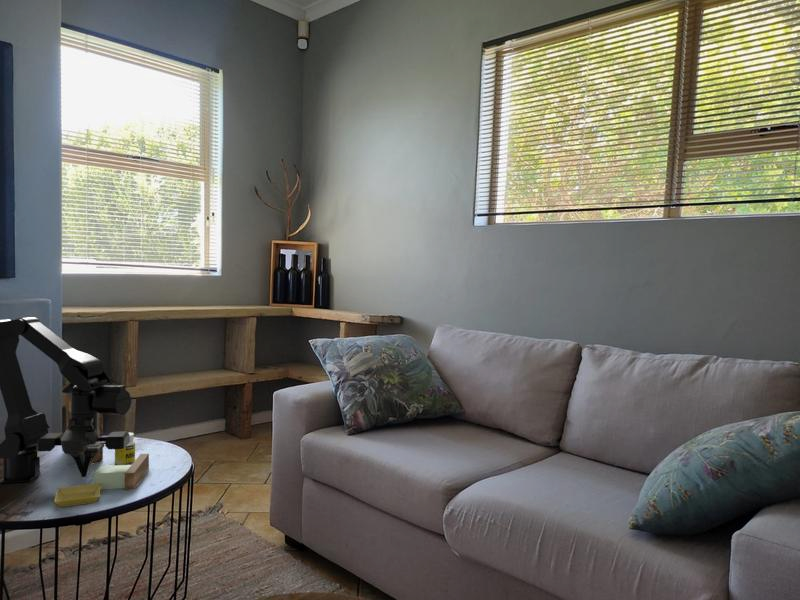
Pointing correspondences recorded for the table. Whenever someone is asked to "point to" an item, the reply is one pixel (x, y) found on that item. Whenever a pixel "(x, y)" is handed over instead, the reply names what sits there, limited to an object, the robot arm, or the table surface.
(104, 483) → the block
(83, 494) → the yellow tray
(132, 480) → the board
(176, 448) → the table surface
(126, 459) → the supplement bottle
